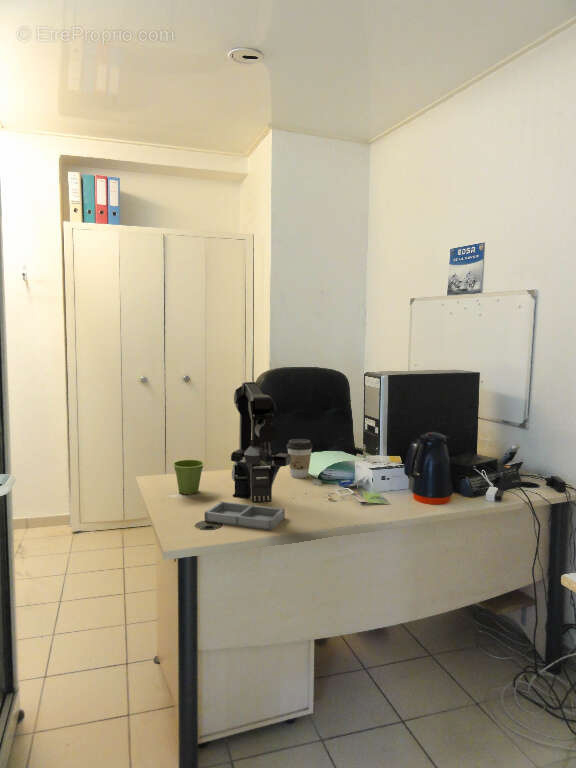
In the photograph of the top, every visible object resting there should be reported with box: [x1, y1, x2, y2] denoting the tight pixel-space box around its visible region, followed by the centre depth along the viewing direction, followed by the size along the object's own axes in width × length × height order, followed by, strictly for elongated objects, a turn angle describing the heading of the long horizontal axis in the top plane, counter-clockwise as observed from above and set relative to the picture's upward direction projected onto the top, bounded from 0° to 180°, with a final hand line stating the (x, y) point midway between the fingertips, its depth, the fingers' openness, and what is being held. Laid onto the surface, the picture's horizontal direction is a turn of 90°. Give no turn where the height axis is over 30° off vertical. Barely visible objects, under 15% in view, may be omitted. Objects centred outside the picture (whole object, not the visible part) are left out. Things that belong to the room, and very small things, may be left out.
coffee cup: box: [286, 438, 314, 479], centre depth 229 cm, size 11×11×15 cm
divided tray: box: [204, 501, 285, 532], centre depth 176 cm, size 23×12×3 cm, turn 71°
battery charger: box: [250, 465, 273, 504], centre depth 173 cm, size 7×4×11 cm, turn 96°
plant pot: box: [172, 459, 205, 495], centre depth 204 cm, size 12×12×11 cm
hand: (260, 483), depth 173 cm, fingers closed on battery charger, 7 cm apart
